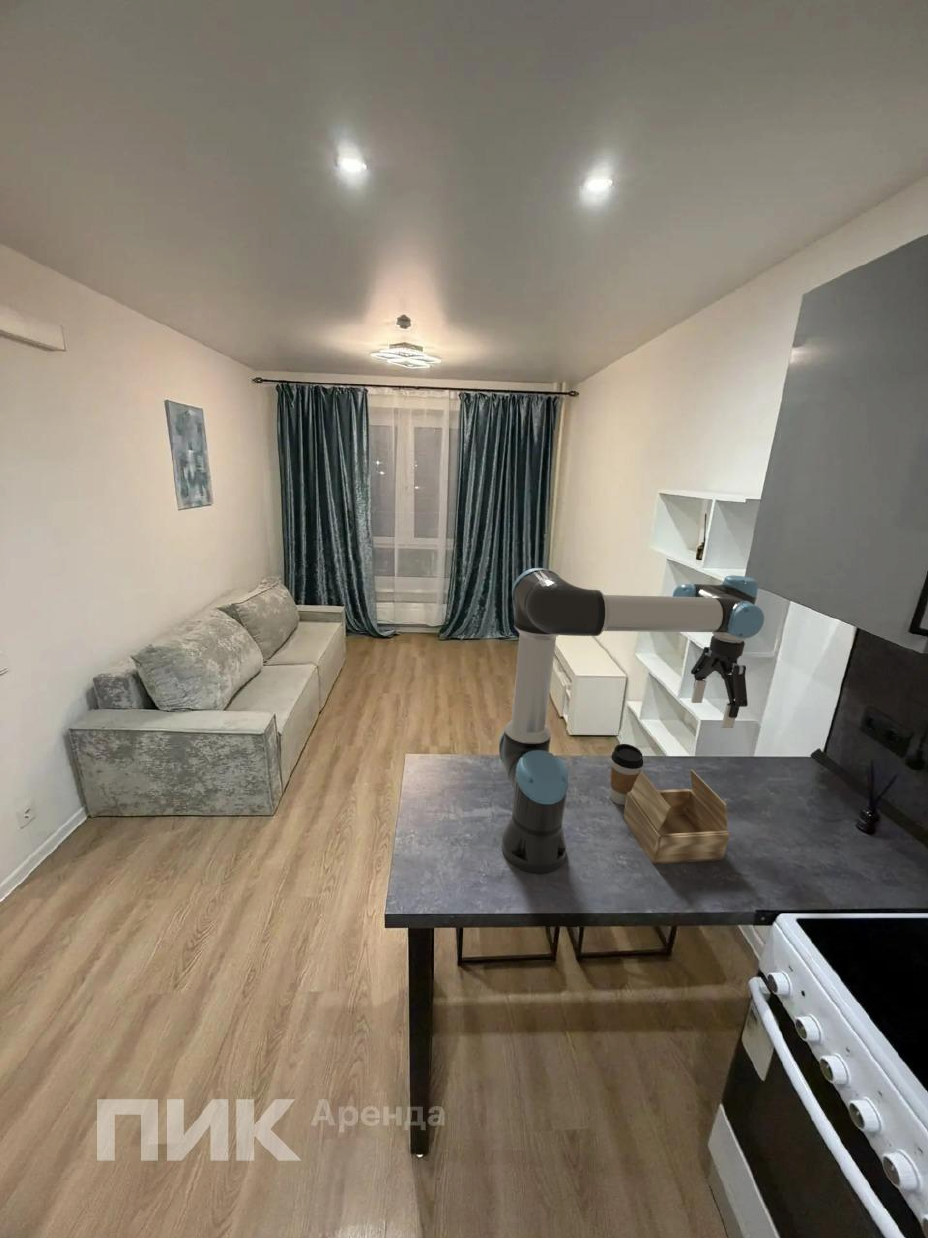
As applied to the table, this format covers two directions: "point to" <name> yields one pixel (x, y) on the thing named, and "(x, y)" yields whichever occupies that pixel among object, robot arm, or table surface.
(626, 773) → the coffee cup
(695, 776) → the flap
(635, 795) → the flap
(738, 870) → the table surface
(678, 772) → the table surface
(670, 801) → the crate
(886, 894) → the table surface
